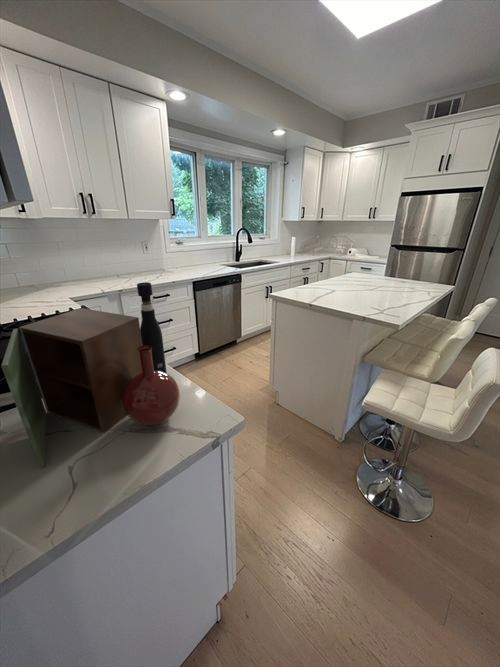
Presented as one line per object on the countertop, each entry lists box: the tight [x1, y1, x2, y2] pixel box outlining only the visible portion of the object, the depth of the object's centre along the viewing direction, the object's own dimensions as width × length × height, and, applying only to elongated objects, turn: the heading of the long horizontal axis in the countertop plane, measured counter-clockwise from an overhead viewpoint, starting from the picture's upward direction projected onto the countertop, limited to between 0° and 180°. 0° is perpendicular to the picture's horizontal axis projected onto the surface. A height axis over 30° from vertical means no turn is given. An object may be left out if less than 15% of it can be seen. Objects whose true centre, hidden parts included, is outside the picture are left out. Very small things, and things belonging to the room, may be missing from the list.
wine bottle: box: [136, 282, 168, 374], centre depth 84 cm, size 6×6×30 cm
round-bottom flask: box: [123, 345, 181, 427], centre depth 66 cm, size 13×13×20 cm
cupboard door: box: [0, 328, 47, 469], centre depth 58 cm, size 7×20×24 cm, turn 34°
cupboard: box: [18, 307, 143, 434], centre depth 71 cm, size 16×20×24 cm
